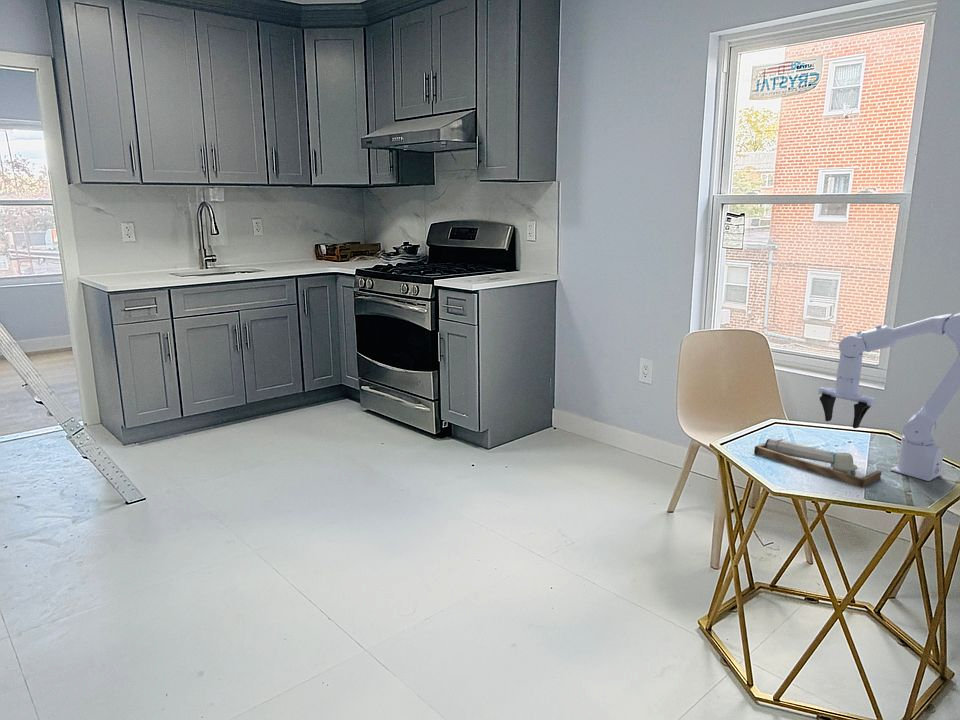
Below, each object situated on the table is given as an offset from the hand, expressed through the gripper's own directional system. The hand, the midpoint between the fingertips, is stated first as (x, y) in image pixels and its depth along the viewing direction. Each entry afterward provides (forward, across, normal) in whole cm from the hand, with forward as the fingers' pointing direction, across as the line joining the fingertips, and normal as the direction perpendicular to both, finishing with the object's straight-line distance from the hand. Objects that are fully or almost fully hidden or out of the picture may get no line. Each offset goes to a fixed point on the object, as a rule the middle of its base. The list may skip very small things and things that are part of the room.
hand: (841, 424), depth 194 cm
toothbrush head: (+10, -2, -13) cm, 16 cm away
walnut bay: (+9, 0, -13) cm, 16 cm away
